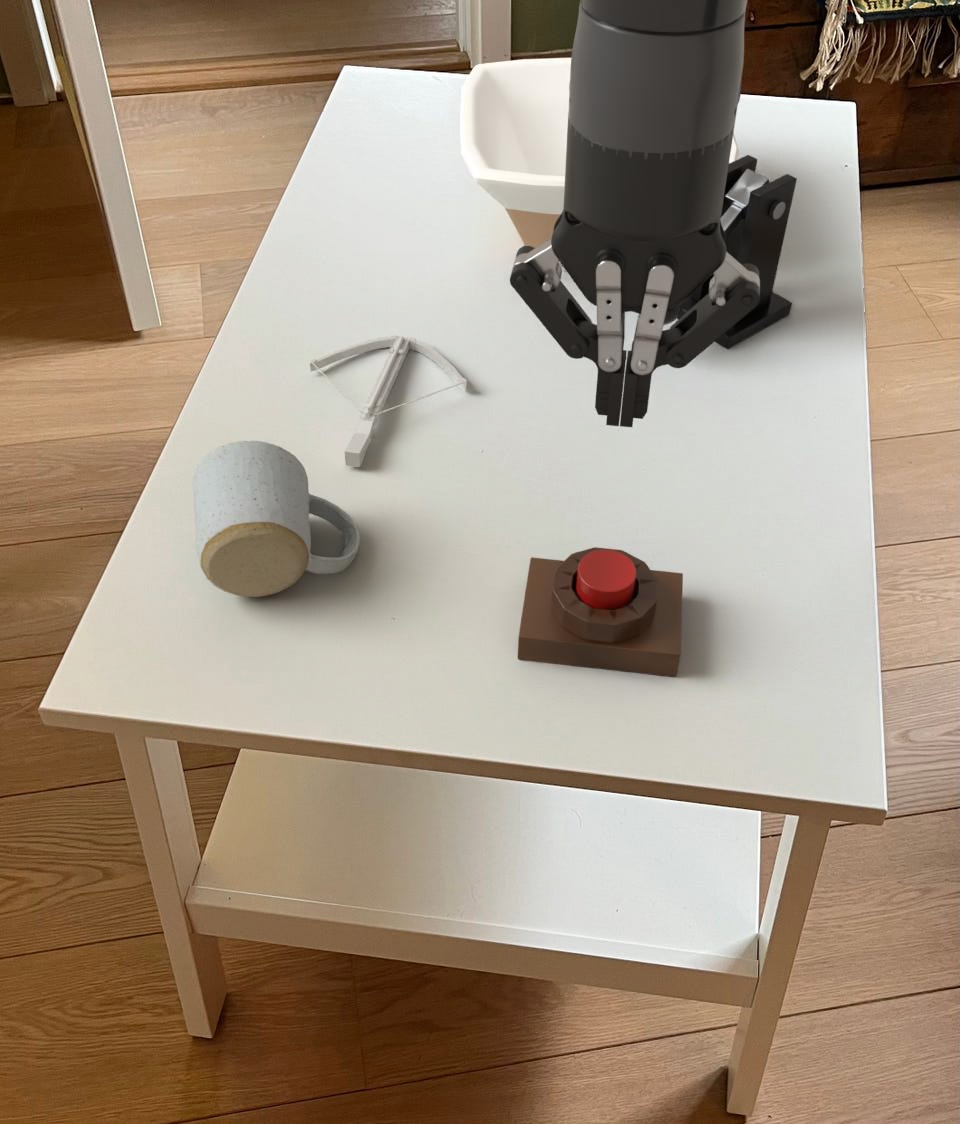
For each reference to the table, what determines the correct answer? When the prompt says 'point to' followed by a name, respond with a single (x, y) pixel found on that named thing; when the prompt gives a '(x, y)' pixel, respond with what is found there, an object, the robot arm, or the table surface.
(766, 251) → the bracket
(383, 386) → the crossbow
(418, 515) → the table surface
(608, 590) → the button
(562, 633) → the button block
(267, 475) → the ceramic mug
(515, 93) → the bowl
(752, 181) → the lever
